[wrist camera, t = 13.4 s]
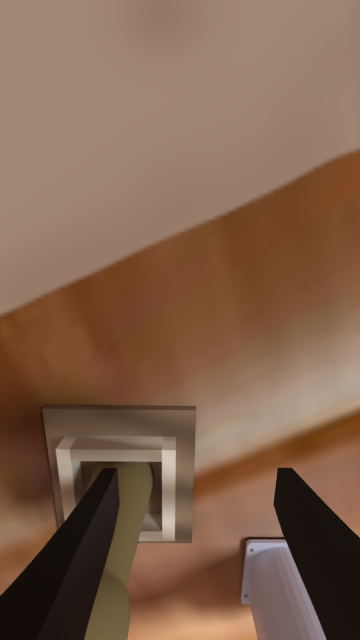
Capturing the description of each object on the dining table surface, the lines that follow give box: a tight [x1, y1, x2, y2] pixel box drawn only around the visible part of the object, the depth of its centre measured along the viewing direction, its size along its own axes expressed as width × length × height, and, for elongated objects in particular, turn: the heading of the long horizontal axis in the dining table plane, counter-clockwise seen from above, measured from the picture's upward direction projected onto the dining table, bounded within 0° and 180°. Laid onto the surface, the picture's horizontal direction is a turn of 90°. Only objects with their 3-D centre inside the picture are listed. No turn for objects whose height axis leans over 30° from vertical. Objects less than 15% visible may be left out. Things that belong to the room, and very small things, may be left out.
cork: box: [84, 461, 154, 640], centre depth 16 cm, size 6×6×11 cm
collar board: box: [42, 405, 196, 543], centre depth 21 cm, size 16×14×2 cm
